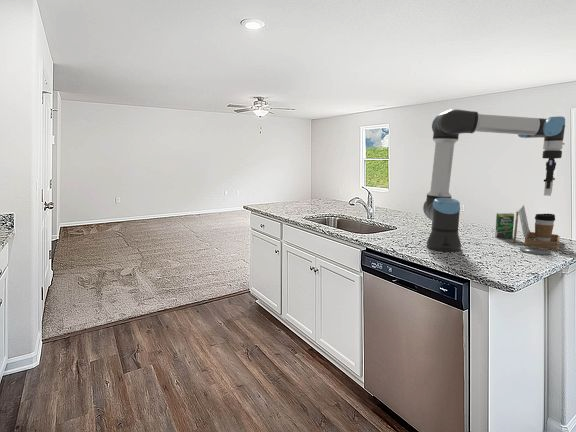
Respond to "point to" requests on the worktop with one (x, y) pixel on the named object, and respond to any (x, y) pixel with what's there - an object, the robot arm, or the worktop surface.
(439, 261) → the worktop surface
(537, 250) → the disc
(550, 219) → the coffee cup
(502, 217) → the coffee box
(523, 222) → the frame
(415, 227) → the worktop surface
